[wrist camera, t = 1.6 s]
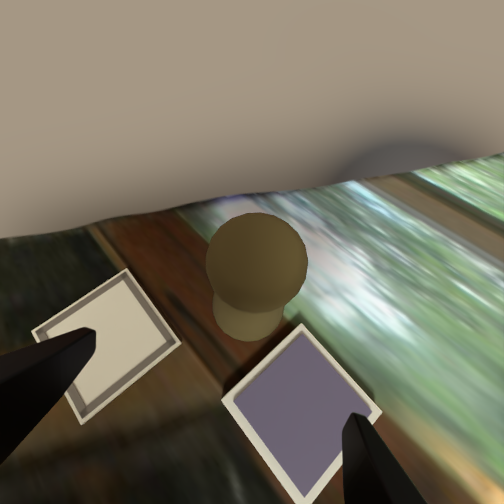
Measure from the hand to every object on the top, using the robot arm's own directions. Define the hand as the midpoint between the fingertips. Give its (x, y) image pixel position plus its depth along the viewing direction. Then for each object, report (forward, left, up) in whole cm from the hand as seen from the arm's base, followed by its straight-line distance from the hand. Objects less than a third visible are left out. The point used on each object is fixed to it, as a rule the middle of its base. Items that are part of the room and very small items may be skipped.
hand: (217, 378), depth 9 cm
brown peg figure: (+5, +3, -12) cm, 13 cm away
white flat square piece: (-5, +8, -12) cm, 15 cm away
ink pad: (+3, -5, -12) cm, 13 cm away
